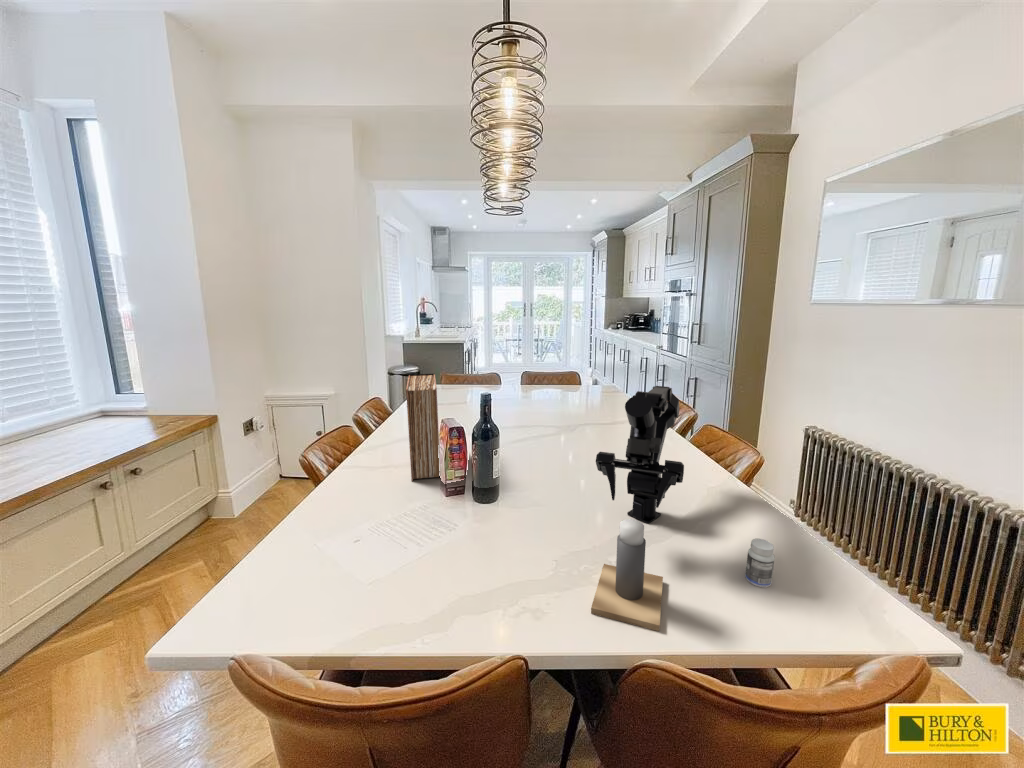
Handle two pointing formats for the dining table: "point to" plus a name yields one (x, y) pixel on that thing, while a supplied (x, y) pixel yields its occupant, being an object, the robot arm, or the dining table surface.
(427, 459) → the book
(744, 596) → the dining table surface
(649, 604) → the serving board
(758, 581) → the pill bottle
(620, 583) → the pepper mill
